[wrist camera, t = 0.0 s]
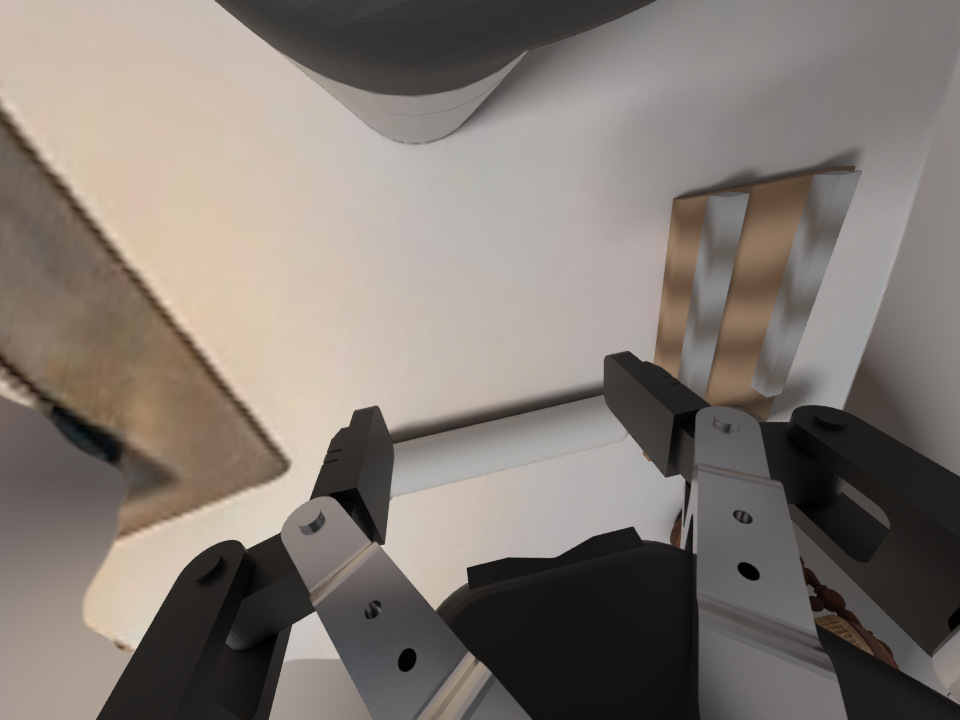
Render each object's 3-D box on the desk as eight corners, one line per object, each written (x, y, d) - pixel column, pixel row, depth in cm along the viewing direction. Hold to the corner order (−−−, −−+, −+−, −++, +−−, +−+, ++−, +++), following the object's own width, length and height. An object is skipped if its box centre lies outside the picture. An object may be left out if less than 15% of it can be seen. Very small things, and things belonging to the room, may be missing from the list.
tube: (640, 395, 31) (368, 459, 30) (646, 448, 32) (384, 513, 31) (612, 381, 36) (380, 435, 35) (618, 427, 37) (393, 481, 36)
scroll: (656, 553, 52) (771, 741, 35) (673, 489, 45) (830, 687, 28) (744, 533, 54) (897, 706, 36) (775, 468, 46) (986, 646, 29)
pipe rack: (673, 198, 27) (789, 212, 18) (839, 166, 27) (1024, 165, 19) (642, 457, 41) (699, 531, 33) (751, 431, 42) (834, 497, 33)
